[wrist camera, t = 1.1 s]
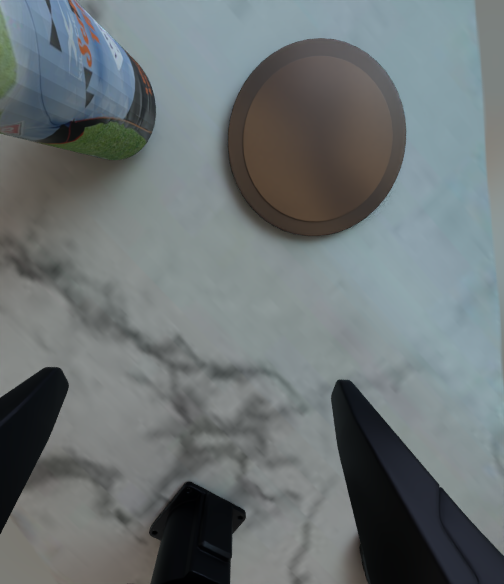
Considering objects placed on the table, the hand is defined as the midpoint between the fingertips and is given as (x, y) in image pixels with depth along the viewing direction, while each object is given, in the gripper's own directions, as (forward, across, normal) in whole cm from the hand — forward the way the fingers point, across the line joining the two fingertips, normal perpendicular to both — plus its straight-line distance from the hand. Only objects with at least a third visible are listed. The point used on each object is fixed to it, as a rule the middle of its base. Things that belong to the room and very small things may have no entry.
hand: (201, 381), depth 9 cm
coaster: (+16, -6, -5) cm, 17 cm away
